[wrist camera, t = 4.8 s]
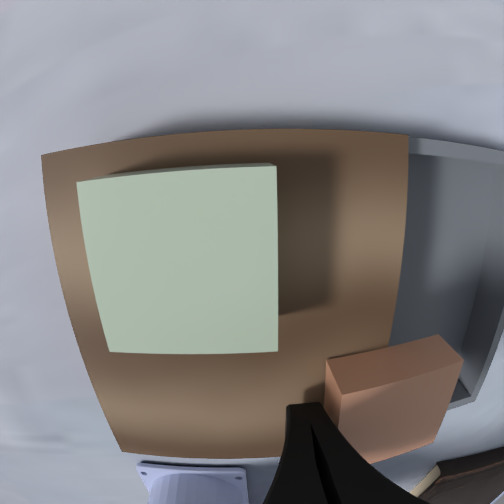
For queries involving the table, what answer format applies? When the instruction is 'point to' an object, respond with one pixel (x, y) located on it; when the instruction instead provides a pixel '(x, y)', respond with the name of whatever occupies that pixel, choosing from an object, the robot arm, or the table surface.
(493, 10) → the table surface
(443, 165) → the grey rimmed tray
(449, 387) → the terracotta tile
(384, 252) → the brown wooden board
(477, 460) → the hardcover book
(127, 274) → the sage green tile
